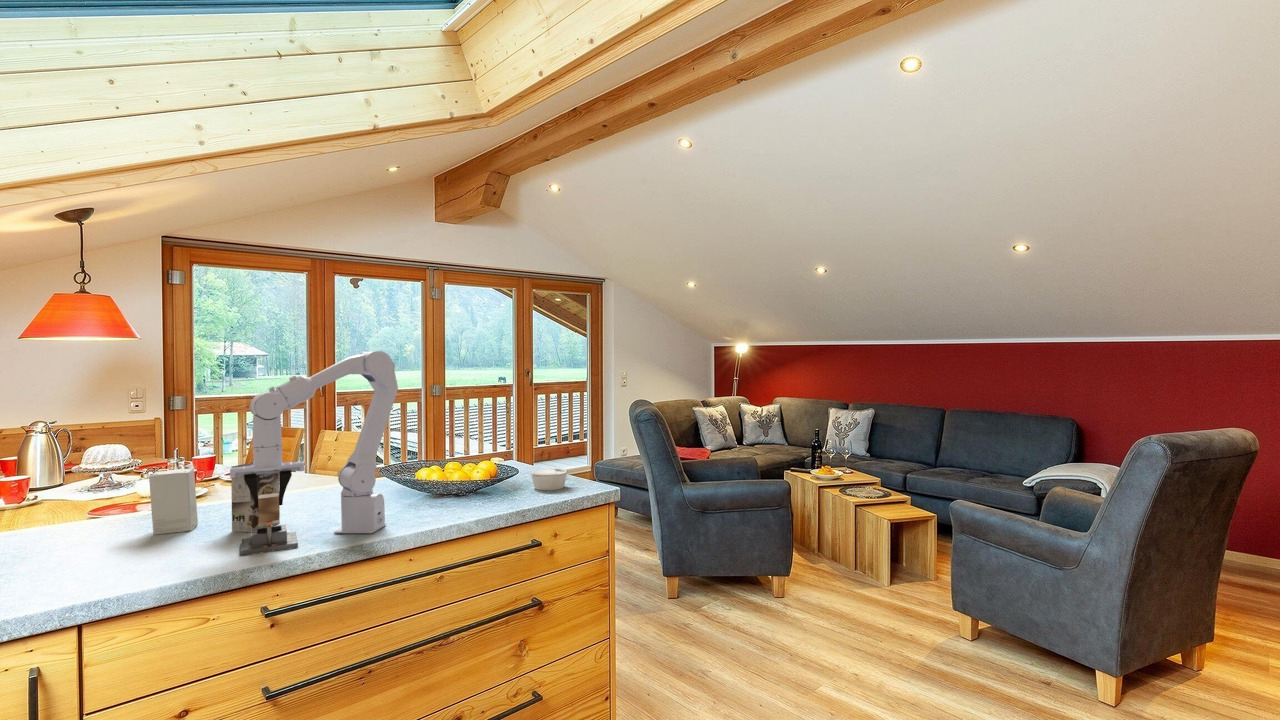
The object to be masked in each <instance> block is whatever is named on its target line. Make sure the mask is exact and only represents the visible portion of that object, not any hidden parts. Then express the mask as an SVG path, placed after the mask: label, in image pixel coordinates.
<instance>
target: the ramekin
mask: <svg viewBox="0 0 1280 720" xmlns="http://www.w3.org/2000/svg"><path fill="white" fill-rule="evenodd" d="M530 475H531V477H532V484H533V488H534V489H536V490H538V491H546V490H547V491H549V490H550V491H557V490H561V489H563V488H564V487H565V485H566V481H567V480H566V478H567V475H568V472H567V470H566V469H563V468H562V469H561V468H538V469H535V470H532V471H531V472H530ZM550 491H549V492H550Z"/></svg>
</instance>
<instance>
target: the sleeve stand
mask: <svg viewBox="0 0 1280 720" xmlns="http://www.w3.org/2000/svg"><path fill="white" fill-rule="evenodd" d="M271 525H272V521H266V526H267V527H261V528H253V529H252V532H251V537H244V538H241V543H240V549H239V550H240V551H239V552H240V553H239V554H240V555H239V556H241V555H242V556H248V555H247V554H249V555H254V554H253V553H256V554H261V553H260V552H263V553H267V552H268V551H270V552H275V550H277V551H281V549H284V550H290V549H289V548H291V549H296V547H298V548H299V541H298V540H299V539H298V535H297V531H290V532H288V529H287V524H280V525H279V524H276V525H273V526H271Z"/></svg>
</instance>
